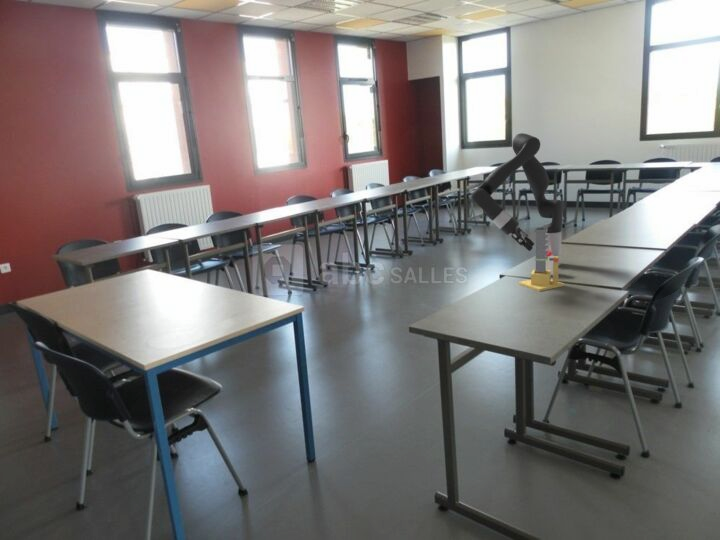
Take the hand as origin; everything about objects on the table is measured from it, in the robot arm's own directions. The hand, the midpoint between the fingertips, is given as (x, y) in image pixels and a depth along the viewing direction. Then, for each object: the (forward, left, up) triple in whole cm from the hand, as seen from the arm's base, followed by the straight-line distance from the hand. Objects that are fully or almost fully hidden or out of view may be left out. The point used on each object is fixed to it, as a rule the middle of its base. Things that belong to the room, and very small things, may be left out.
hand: (532, 247), depth 236 cm
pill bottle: (-11, +17, -18) cm, 26 cm away
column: (+3, +3, -11) cm, 11 cm away
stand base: (+2, +3, -17) cm, 18 cm away
